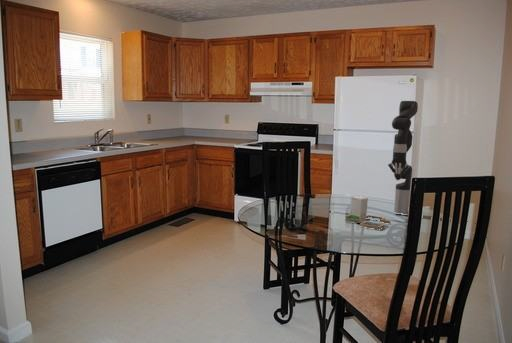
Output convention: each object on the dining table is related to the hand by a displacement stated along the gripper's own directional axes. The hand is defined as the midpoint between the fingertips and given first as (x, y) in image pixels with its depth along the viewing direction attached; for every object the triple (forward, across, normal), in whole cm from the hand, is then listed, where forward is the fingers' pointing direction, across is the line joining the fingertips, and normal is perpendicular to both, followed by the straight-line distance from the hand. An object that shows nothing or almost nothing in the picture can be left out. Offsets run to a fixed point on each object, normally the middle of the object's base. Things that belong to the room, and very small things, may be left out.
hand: (398, 179), depth 248 cm
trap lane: (+27, +13, +10) cm, 32 cm away
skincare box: (+27, +20, +11) cm, 35 cm away
